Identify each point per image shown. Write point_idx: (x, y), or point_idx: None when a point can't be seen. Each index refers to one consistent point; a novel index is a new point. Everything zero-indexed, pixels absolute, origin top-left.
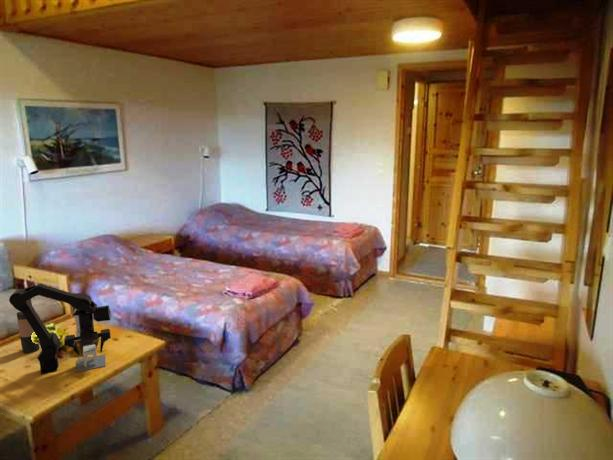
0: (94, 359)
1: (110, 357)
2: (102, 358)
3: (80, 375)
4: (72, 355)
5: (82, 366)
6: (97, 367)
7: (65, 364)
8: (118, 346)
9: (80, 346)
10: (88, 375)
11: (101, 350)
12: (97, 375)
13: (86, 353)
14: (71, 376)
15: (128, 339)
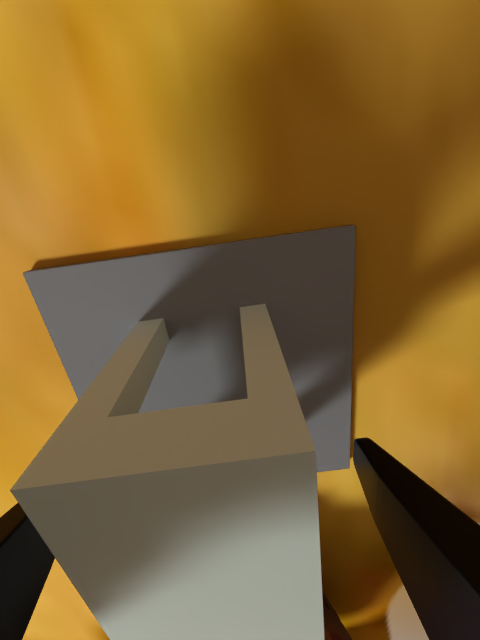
0: (133, 356)
1: None
2: None
3: (292, 109)
4: None
5: (290, 328)
6: (113, 259)
7: (441, 419)
8: (61, 572)
9: (336, 614)
10: (182, 64)
11: (13, 511)
12: (41, 7)
13: (228, 434)
14: (402, 120)
15: (27, 629)
